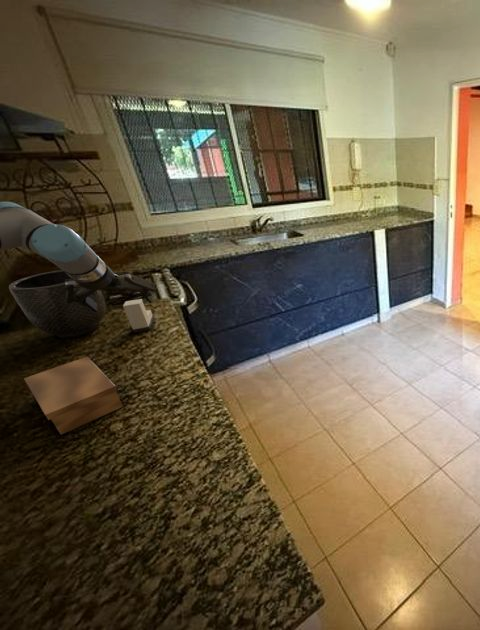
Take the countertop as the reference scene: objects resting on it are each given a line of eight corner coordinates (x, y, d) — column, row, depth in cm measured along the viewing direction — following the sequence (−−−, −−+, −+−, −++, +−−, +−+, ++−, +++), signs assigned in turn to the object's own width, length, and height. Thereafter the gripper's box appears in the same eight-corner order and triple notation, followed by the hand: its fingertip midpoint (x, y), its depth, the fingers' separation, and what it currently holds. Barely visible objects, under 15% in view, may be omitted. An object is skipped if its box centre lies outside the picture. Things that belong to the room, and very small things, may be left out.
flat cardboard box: (58, 436, 74) (45, 414, 72) (35, 397, 86) (23, 378, 83) (125, 405, 83) (115, 385, 80) (96, 374, 95) (87, 356, 92)
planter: (117, 313, 130) (96, 265, 122) (113, 333, 116) (89, 280, 107) (46, 327, 120) (18, 275, 112) (31, 351, 105) (-2, 294, 97)
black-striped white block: (150, 329, 118) (139, 303, 114) (133, 332, 116) (122, 306, 112) (154, 318, 126) (144, 293, 122) (139, 320, 124) (128, 295, 120)
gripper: (22, 292, 81) (71, 323, 100) (149, 275, 92) (173, 306, 111) (21, 265, 83) (69, 300, 102) (145, 251, 94) (169, 285, 112)
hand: (123, 303), depth 106 cm, fingers open, 13 cm apart
